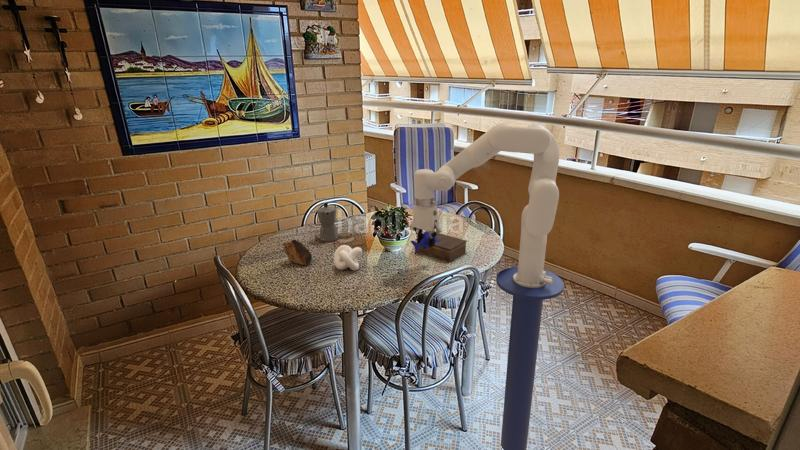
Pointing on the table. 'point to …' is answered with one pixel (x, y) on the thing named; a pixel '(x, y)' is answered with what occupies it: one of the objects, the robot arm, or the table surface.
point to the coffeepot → (327, 223)
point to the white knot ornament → (347, 257)
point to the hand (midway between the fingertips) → (426, 244)
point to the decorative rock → (297, 252)
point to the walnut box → (445, 248)
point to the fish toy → (423, 242)
